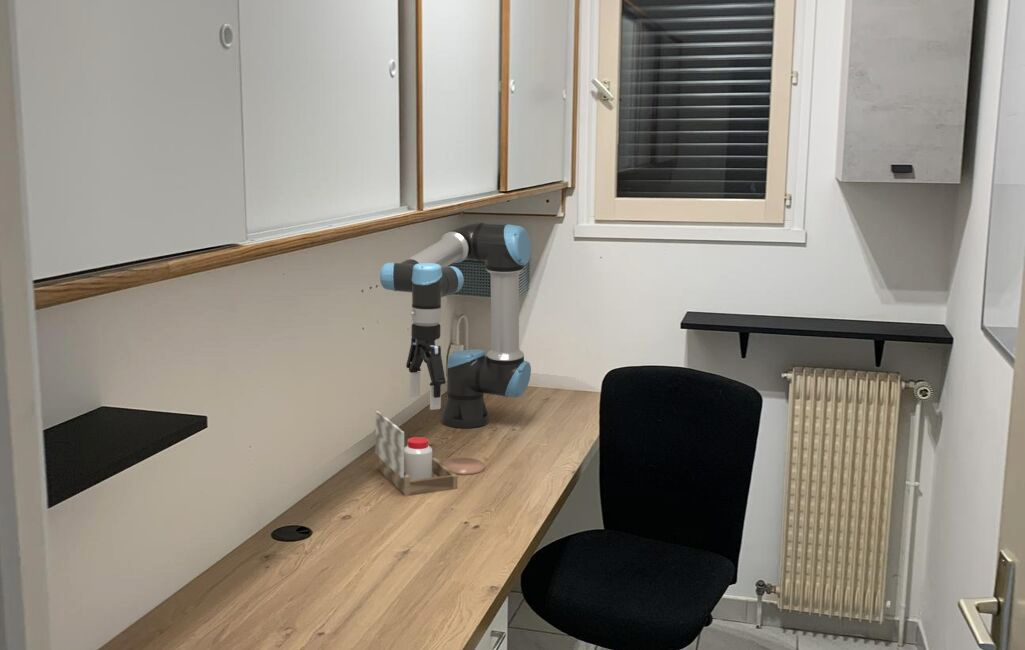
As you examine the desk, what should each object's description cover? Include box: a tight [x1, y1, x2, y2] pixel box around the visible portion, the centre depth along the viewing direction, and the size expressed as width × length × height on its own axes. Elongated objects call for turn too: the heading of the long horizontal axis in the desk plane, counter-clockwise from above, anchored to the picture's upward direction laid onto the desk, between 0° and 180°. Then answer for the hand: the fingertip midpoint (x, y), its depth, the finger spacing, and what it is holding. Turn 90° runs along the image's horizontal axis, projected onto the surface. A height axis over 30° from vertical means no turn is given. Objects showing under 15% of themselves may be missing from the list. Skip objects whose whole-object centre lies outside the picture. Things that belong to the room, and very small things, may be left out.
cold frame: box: [374, 410, 459, 497], centre depth 259 cm, size 20×16×17 cm
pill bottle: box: [404, 436, 433, 481], centre depth 260 cm, size 8×8×11 cm
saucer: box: [442, 457, 486, 476], centre depth 271 cm, size 12×12×1 cm
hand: (424, 402), depth 257 cm, fingers open, 13 cm apart
